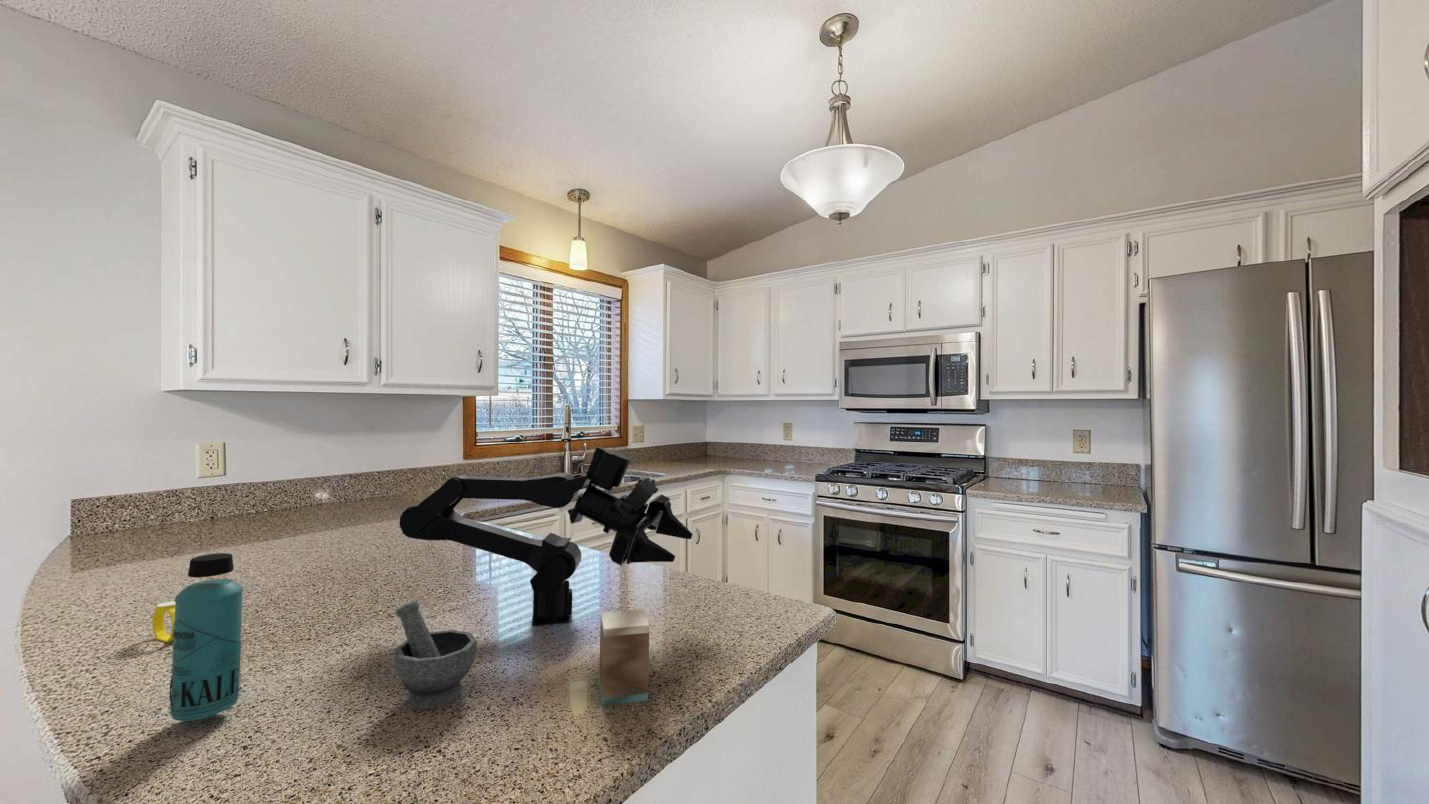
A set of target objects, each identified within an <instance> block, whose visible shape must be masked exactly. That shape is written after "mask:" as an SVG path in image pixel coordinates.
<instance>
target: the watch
mask: <svg viewBox="0 0 1429 804" xmlns="http://www.w3.org/2000/svg"><path fill="white" fill-rule="evenodd" d="M166 611H167V613H168V614H169V617H170V620H171V633H170V635H169V634H168V633H167V631H166V628H165V622H164V621H165V614H166ZM174 622H175V600H174V601H173V600H172V601H166V602H162V603H160V604H157V605H156V606H155V610H154V613H153V616H152V623H151V627H152V631H153V632H152V633H153V634H154V636H155V639H156V641H161V642H165V643H167V644H169V643H171V642H172V641H173V637H172V633H173V632H174V630H173V629H174V625H173V624H174ZM172 628H173V629H172ZM173 636H174V633H173ZM172 643H173V642H172Z"/></svg>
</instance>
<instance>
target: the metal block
mask: <svg viewBox="0 0 1429 804" xmlns="http://www.w3.org/2000/svg"><path fill="white" fill-rule="evenodd" d="M599 628H600V631H599V633H600V634H599V635H600V636H599V637H600V638H599V641H600V643H599V673H598V674H599V677H598V679H599V680H598V681H599V682H598V684H599V685H598V686H599V693H600V699H601V705H602V707H605V706H614V705H620V704H621V705H622V704H629V703H638V702H646V701H648V700H649V672H650V671H649V667H650V664H649V663H650V623H649V621H648V618H647V615H646V613H645V611H644V609H634V610H633V609H632V610H631V609H630V610H619V611H608V612H606V611H605V612H600V627H599Z"/></svg>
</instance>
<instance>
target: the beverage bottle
mask: <svg viewBox="0 0 1429 804" xmlns="http://www.w3.org/2000/svg"><path fill="white" fill-rule="evenodd" d="M188 566H189V568H188V571H187V576H188V577H189V578H208V577H209V578H210V577H216V576H221V575H225V574H229V573H231V572H233V571H234V560H233V554H232V553H227V552H225V553H224V552H221V553H209V554H203V555H198V556H194V557H193V558H191V559H190V560H189V565H188ZM243 593H244V586H243V585H242V584H240V583H238V582H237V581H235V580H233V579H231V578H230V579H229V578H213V579H208V580H207V579H206V580H202V581H197V582H193V583H192V584H188V585H187V586H186V587H184V588H182V590H181V591H180V592H179V593H178V594H176V596H175V598H174V601H175V622H174V624H173V625H174V629H173V628H172V627H171V630H172V629H173V630H174V632H173V633H174V636H173V633H172V637H173V641H172V642H170V643H171V644H172V650H170V651H171V655H172V664H171V665H172V666H171V668H170V673H171V676H170V683H169V696H168V697H169V698H168V702H169V705H170V706H168V707H169V708H168V710H170V711H168V713H169V714H170V716H171V718H172V719H173V720H175V721H178V722H179V721H180V722H190V721H196V720H200V719H204V718H209V717H212V716H215V715H217V714H220V713H222V712H225V711H227V710H228V709H230V708H231V707H232V708H233V706H234V705H235V704H236V703H237V701H238V700H239V697H240V696H241V694H242V692H241V690H242V689H241V688H242V687H241V686H242V684H241V680H242V670H241V669H242V665H241V661H243V659H242V658H243V657H242V655H243V652H242V648H243V643H242V615H243Z"/></svg>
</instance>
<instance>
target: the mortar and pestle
mask: <svg viewBox="0 0 1429 804" xmlns="http://www.w3.org/2000/svg"><path fill="white" fill-rule="evenodd" d="M419 608H420V604H419V603H418V601H411V602H407V603H406V604H403V605H402V606H400V607H399V608H398V609H397V610H396V617H398V618H400V621H401V623H402V628H403V629H404V633H405V634H404V635H405V637H406V640H405V641H403V642H402V643H401V644H400V645H398V646H397V647H396V648H395V649H394V665H395V670H396V671H395V672H396V674H397V676H398V679H399V681H400V682H401V684H402V686H403V687H404V689H405V690H407V691H409V693H408V694H409V695H408V702H409V704H410V706H411V707H412V708H418V709H422V710H427V709H432V708H438V707H441V706H445V705H446V704H449V703H451V702H453V701H456V699H457V698H458V697H459V696H460V695H461V694H462V691H461V690H462V688H461V687H462V686H461V682H462V680H463V679H464V677H465V676H466V675H467V674H468V673H469V672H470V669H472V666H473V665H474V662H475V658H476V653H477V641H478V640H477V639H476V638H475V636H474V635H473V634H472V632H468V631H462V630H454V629H450V630H441V631H432V632H431V631H430V630H429V629H428V627H427V624H426V622H425V620H424V618H423V616H422V613H421V611H420V610H419Z"/></svg>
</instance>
